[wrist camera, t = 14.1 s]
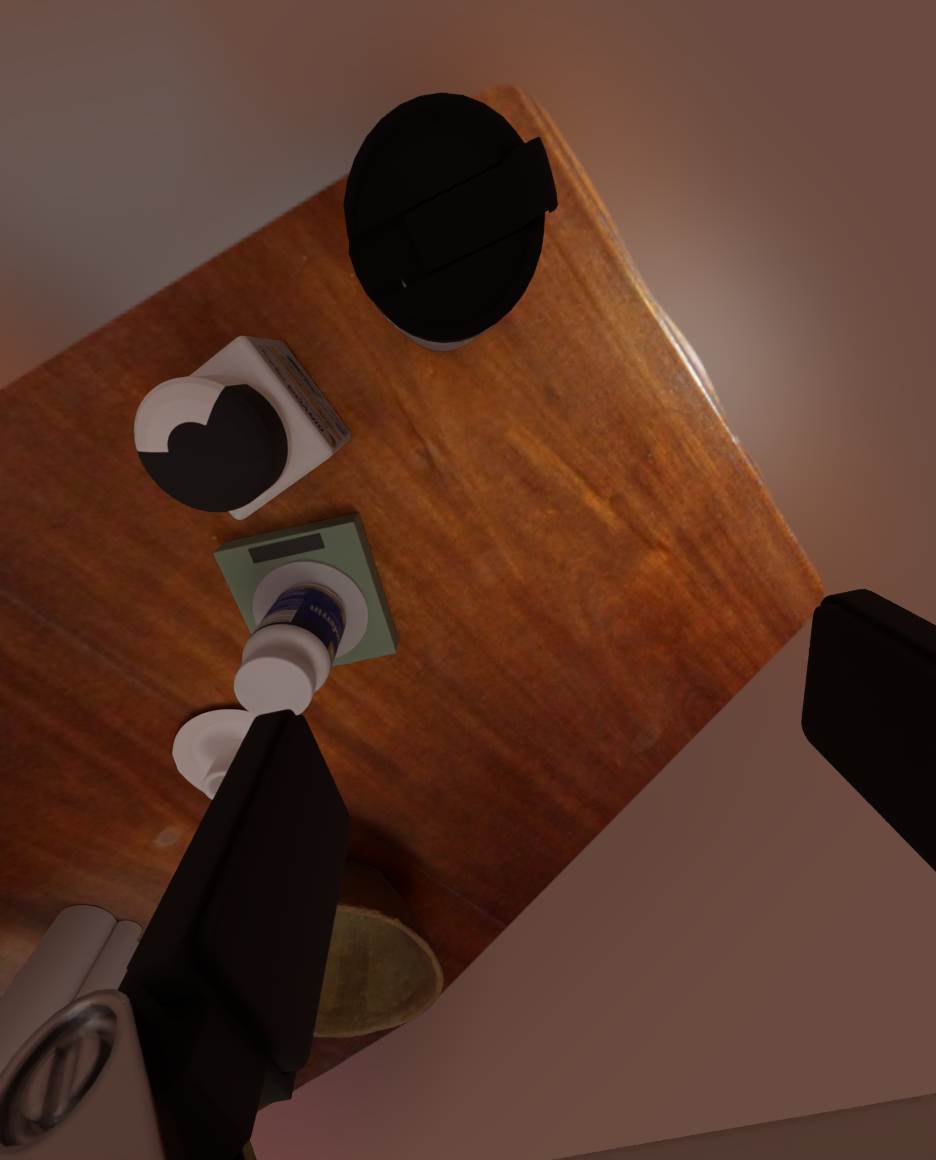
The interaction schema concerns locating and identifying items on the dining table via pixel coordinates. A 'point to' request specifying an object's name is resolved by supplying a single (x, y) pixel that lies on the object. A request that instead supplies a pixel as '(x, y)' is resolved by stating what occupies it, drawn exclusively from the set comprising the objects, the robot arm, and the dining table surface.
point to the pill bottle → (291, 650)
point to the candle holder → (210, 746)
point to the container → (237, 429)
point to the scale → (314, 579)
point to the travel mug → (446, 217)
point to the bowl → (375, 960)
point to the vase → (65, 971)
